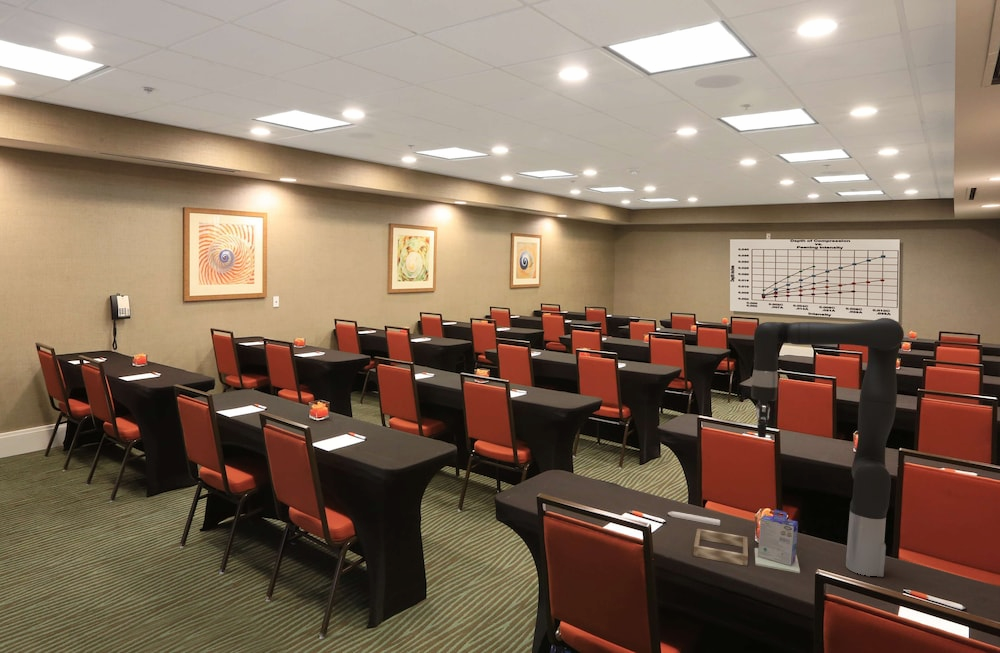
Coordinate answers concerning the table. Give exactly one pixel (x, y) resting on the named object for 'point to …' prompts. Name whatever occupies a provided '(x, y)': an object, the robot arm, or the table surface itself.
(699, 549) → the maple sleeve
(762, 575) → the table surface
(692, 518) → the marker
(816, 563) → the table surface
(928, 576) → the table surface
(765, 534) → the ink cartridge box
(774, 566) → the sage pad
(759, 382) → the robot arm
